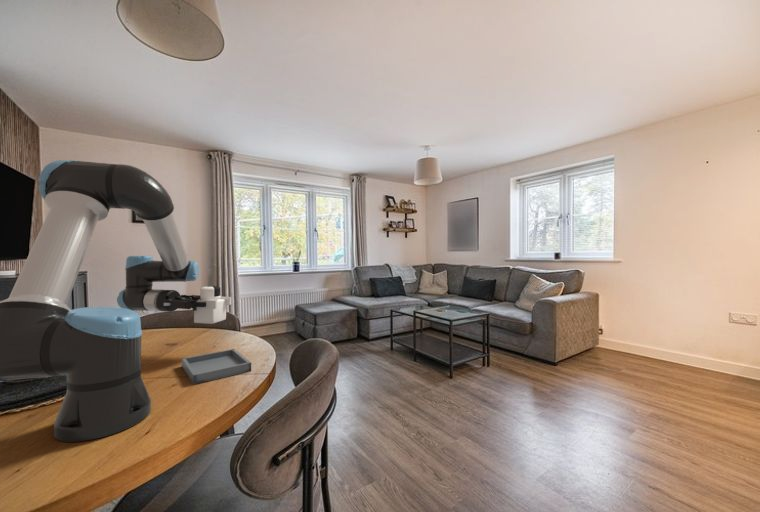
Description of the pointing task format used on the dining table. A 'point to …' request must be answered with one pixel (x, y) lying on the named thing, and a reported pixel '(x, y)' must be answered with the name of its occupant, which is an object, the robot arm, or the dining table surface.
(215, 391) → the dining table surface
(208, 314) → the medicine bottle
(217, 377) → the tray
